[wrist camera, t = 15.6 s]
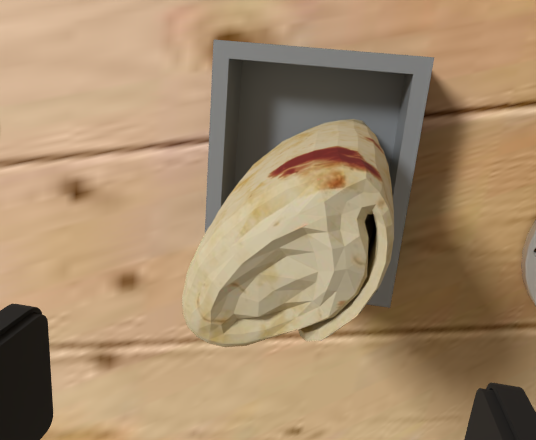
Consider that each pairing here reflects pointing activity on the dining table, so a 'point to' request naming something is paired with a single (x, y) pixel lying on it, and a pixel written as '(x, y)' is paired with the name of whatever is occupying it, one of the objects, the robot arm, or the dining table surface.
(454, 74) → the dining table surface
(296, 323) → the food model
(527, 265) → the robot arm
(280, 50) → the bin
